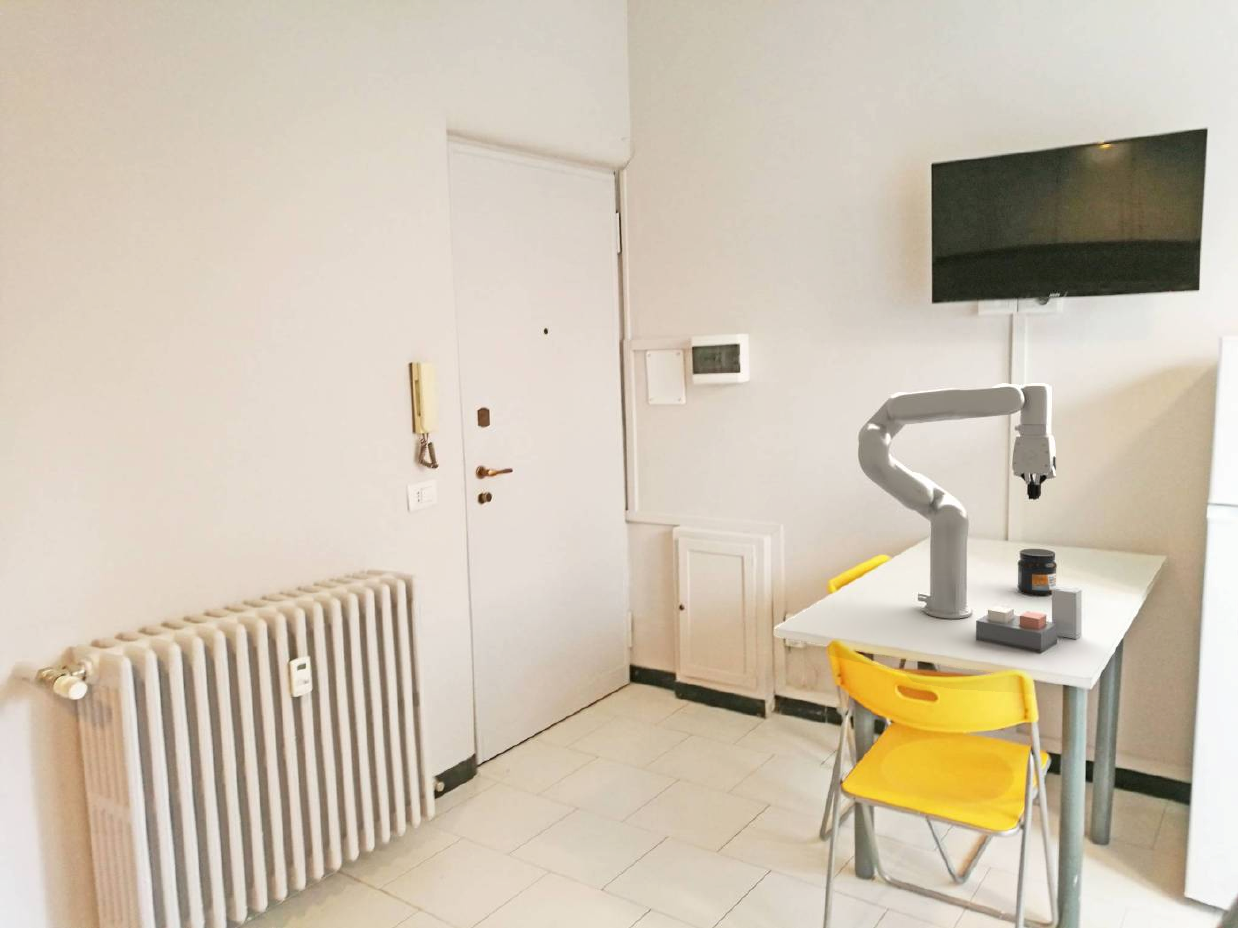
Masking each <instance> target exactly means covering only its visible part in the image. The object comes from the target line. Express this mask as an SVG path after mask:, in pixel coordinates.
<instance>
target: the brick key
mask: <svg viewBox="0 0 1238 928" xmlns="http://www.w3.org/2000/svg"><path fill="white" fill-rule="evenodd" d="M1019 616H1020V625H1019V626H1022V627H1027V628H1033V629H1038V630H1040V629H1041V628H1043V627H1045V626H1046V621H1047V614H1044V613H1040V612H1034V611H1026V612H1023V613H1022V614H1020V615H1019Z"/></svg>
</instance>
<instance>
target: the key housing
mask: <svg viewBox="0 0 1238 928" xmlns="http://www.w3.org/2000/svg"><path fill="white" fill-rule="evenodd" d="M1019 625H1020V615H1016V614H1015V615H1014V620H1012V621H1010V622H1008V623H1002V622H996V621H991V620H988V614H987V615H985V616H983V617H980V618H978V619H977V620H976V621H975V640H976V641H979V642H984V643H989V642H990V644H993V643H994V645H999V646H1004V647H1008V648H1013V649H1017V650H1023V651H1027V652H1031V653H1032V652H1033V653H1037V654H1042V653H1044V652H1046V651H1047V650H1048V649H1050V648H1052V647H1053V646H1055V645H1056V644H1058V636H1057V633H1058V623H1053V622H1052V621H1047V620H1046V626H1045V627H1043V628H1041V629H1040V630H1038V629H1033V628H1027V627H1022V626H1019Z"/></svg>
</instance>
